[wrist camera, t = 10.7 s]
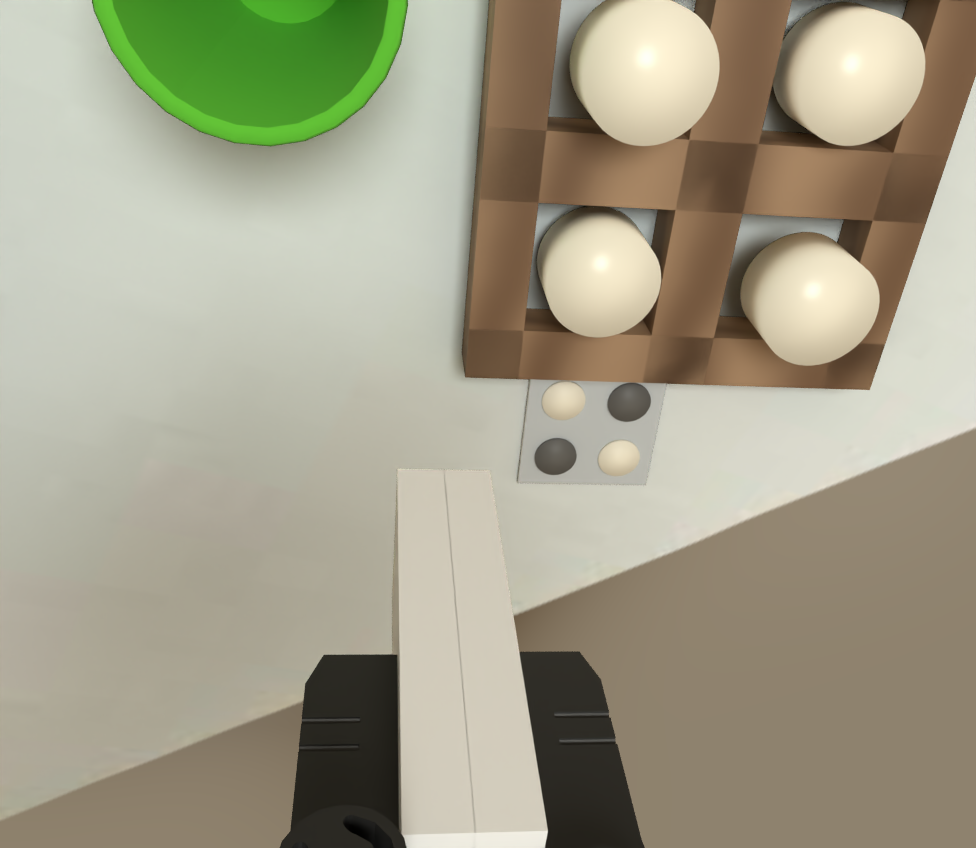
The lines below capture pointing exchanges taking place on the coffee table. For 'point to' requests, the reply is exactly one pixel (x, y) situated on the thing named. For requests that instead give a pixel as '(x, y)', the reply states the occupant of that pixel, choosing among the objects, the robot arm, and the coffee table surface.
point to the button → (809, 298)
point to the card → (589, 432)
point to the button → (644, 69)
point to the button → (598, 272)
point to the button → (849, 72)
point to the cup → (256, 61)
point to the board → (695, 200)
